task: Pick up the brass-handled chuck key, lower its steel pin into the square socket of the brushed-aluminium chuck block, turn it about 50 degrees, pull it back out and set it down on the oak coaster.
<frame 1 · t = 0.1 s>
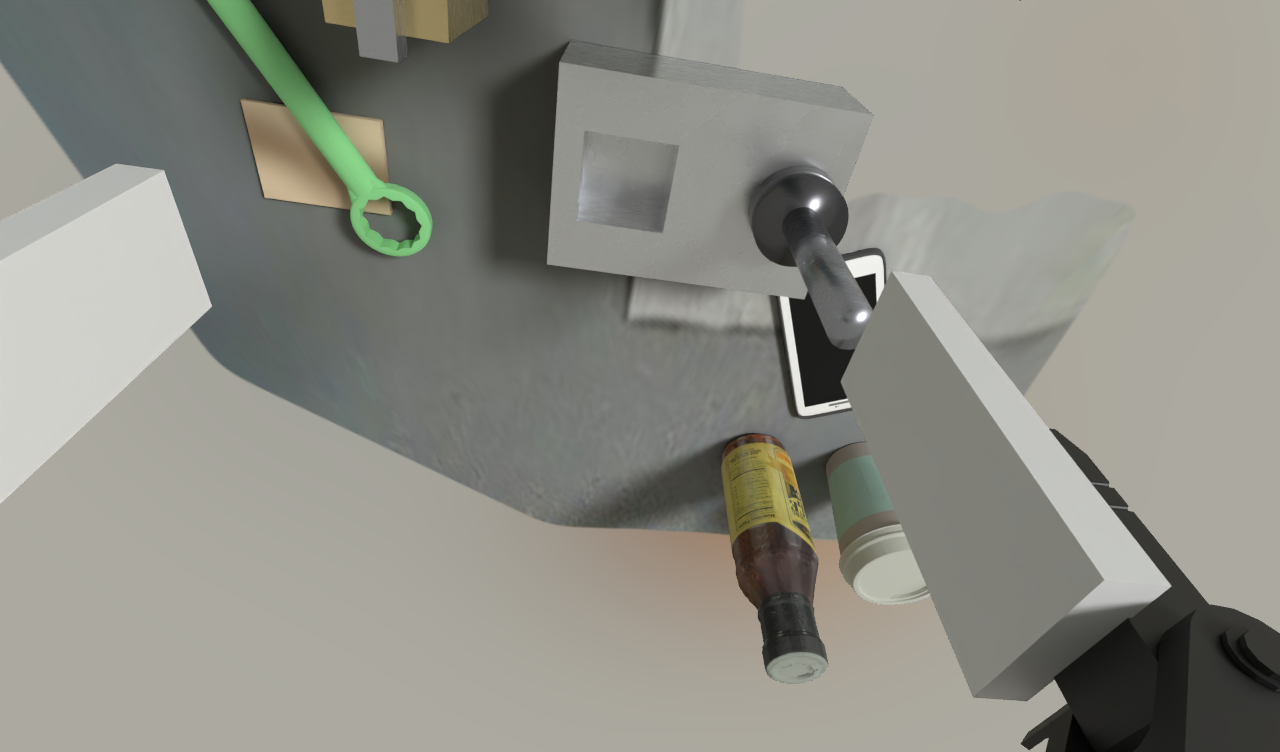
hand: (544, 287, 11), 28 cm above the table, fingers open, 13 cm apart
coffee cup: (856, 462, 55), on the table
cell phone: (832, 336, 47), on the table
wrench: (284, 62, 34), on the table, touching key mat
key mat: (322, 158, 37), on the table
chuck block: (690, 159, 37), on the table
sauce bottle: (752, 450, 54), on the table
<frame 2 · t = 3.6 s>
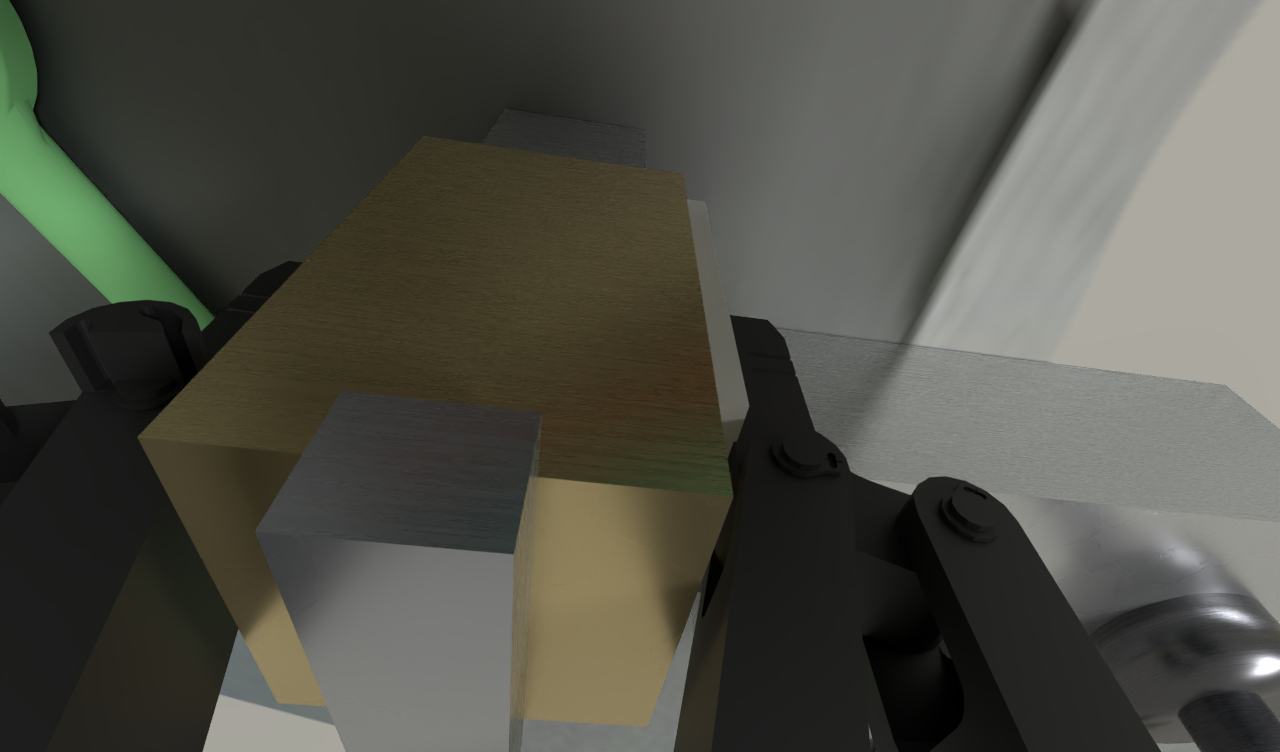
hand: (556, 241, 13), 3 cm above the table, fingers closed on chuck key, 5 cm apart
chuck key: (570, 187, 15), on the table, touching gripper
wrench: (242, 353, 19), on the table, touching key mat
chuck block: (924, 472, 22), on the table
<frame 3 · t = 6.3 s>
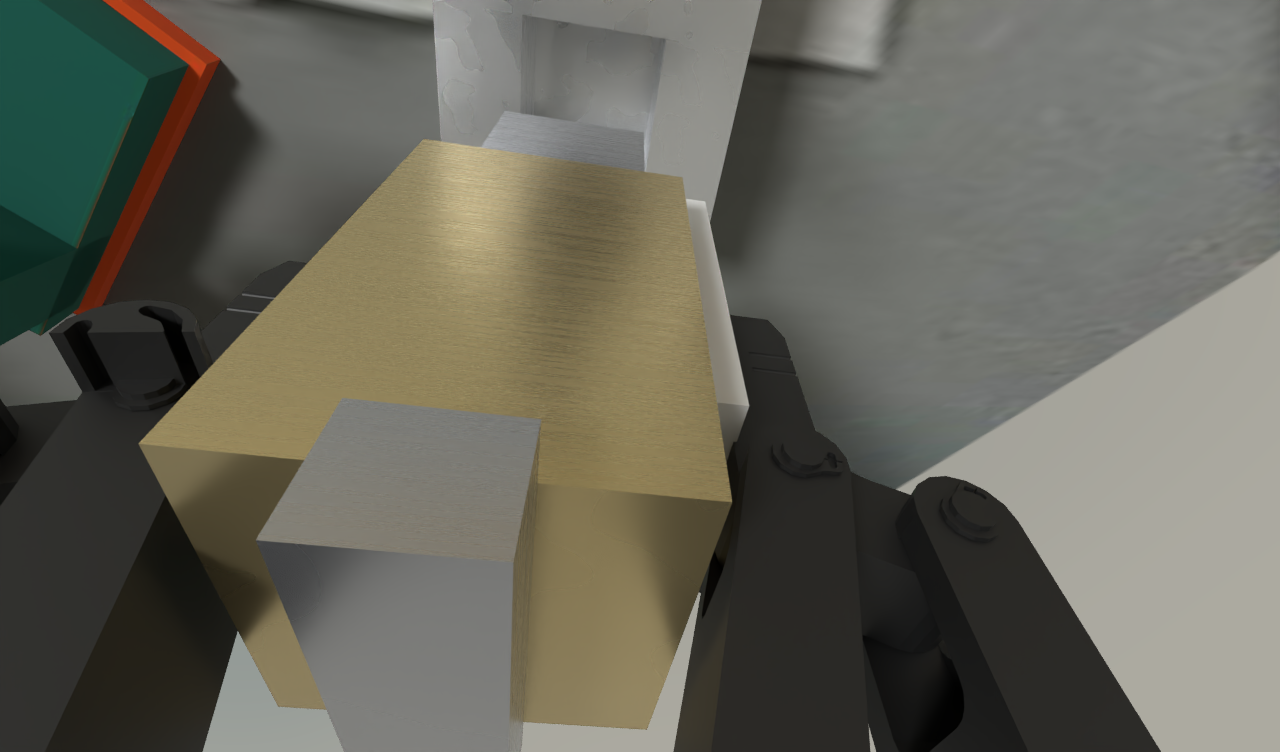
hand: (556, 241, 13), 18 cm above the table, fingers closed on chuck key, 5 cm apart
power tool: (120, 40, 26), on the table
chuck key: (570, 189, 15), point 14 cm above the table, touching gripper
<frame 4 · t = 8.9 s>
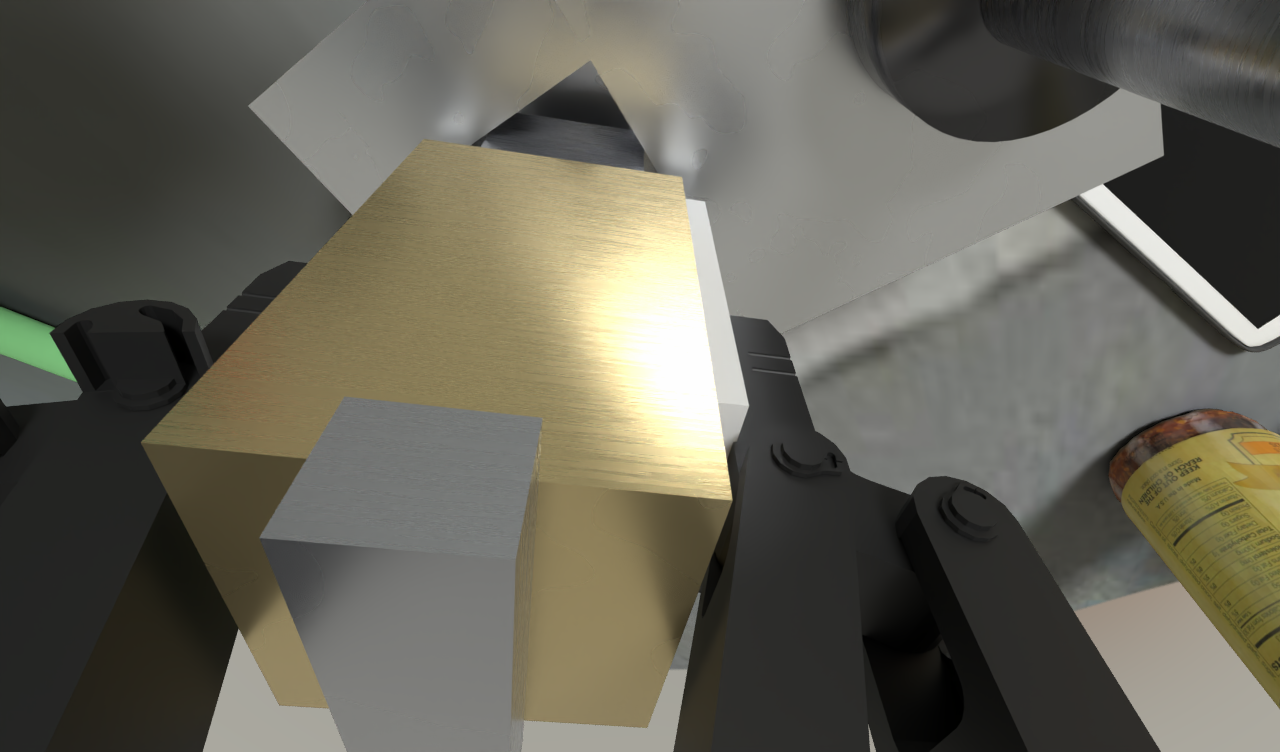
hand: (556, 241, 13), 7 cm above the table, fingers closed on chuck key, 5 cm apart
cell phone: (1244, 163, 19), on the table
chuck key: (569, 188, 16), point 4 cm above the table, touching gripper
wrench: (146, 363, 24), on the table, touching key mat
chuck block: (696, 70, 17), on the table
sauce bottle: (1168, 446, 27), on the table
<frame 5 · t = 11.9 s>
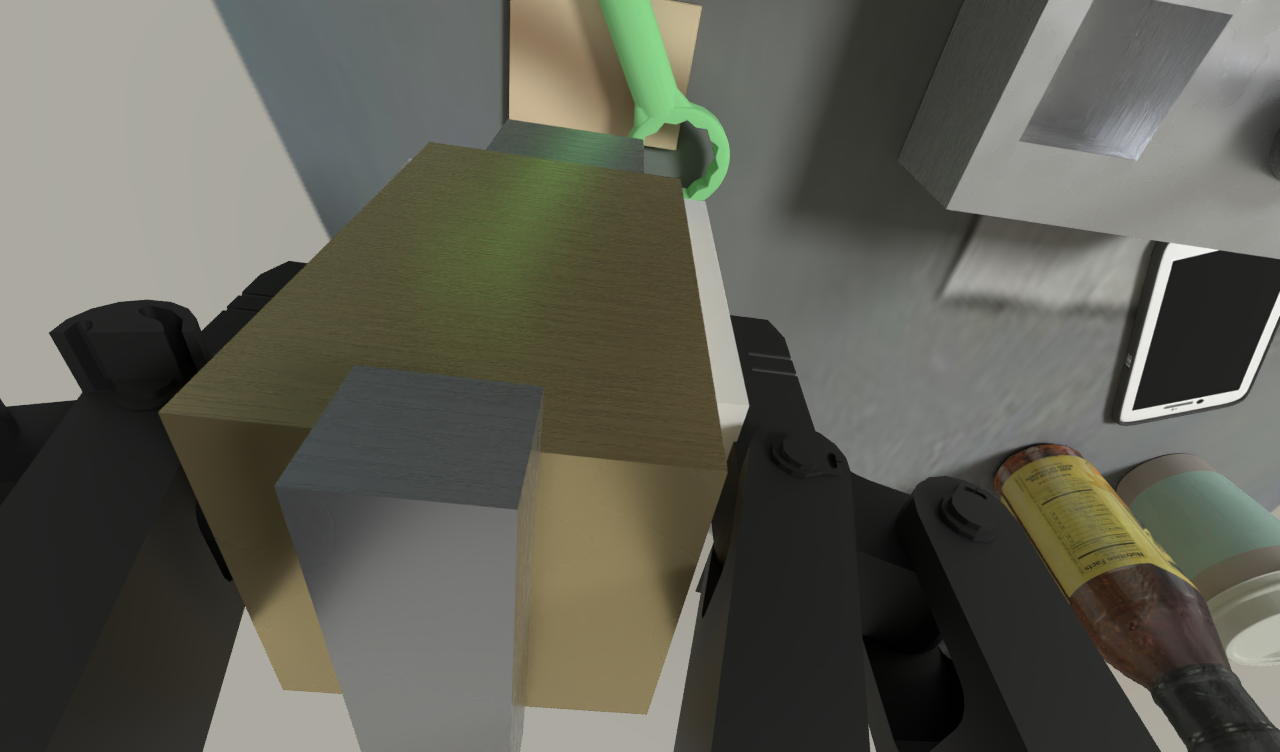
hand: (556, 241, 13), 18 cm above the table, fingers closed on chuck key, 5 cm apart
coffee cup: (1157, 478, 44), on the table
cell phone: (1195, 318, 36), on the table
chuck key: (571, 195, 16), point 14 cm above the table, touching gripper
key mat: (600, 67, 27), on the table
chuck block: (1116, 65, 27), on the table
sauce bottle: (1032, 464, 43), on the table
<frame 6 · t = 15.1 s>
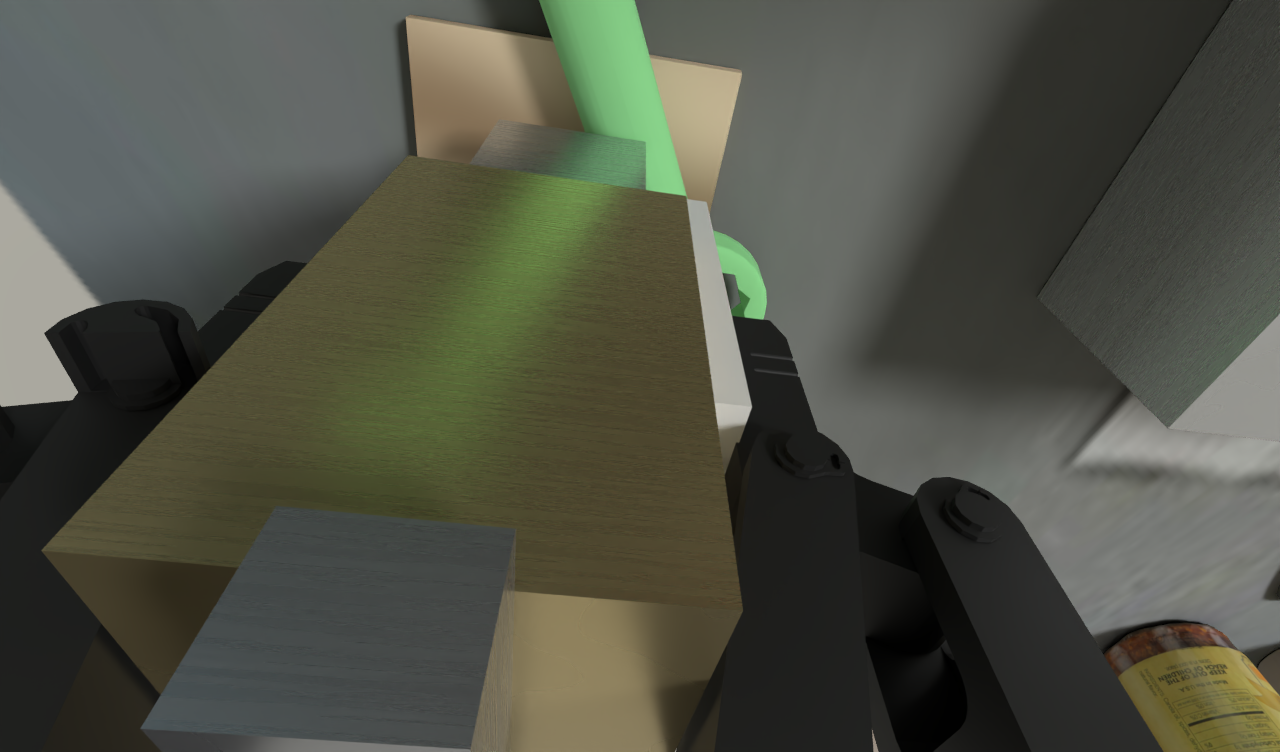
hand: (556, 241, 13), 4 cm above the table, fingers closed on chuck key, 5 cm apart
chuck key: (568, 200, 15), point 2 cm above the table, touching gripper, wrench
key mat: (570, 165, 16), on the table
sauce bottle: (1154, 639, 33), on the table
when the fingers open (4 cm above the table, at t = 15.1 s): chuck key stays where it is, resting on wrench.
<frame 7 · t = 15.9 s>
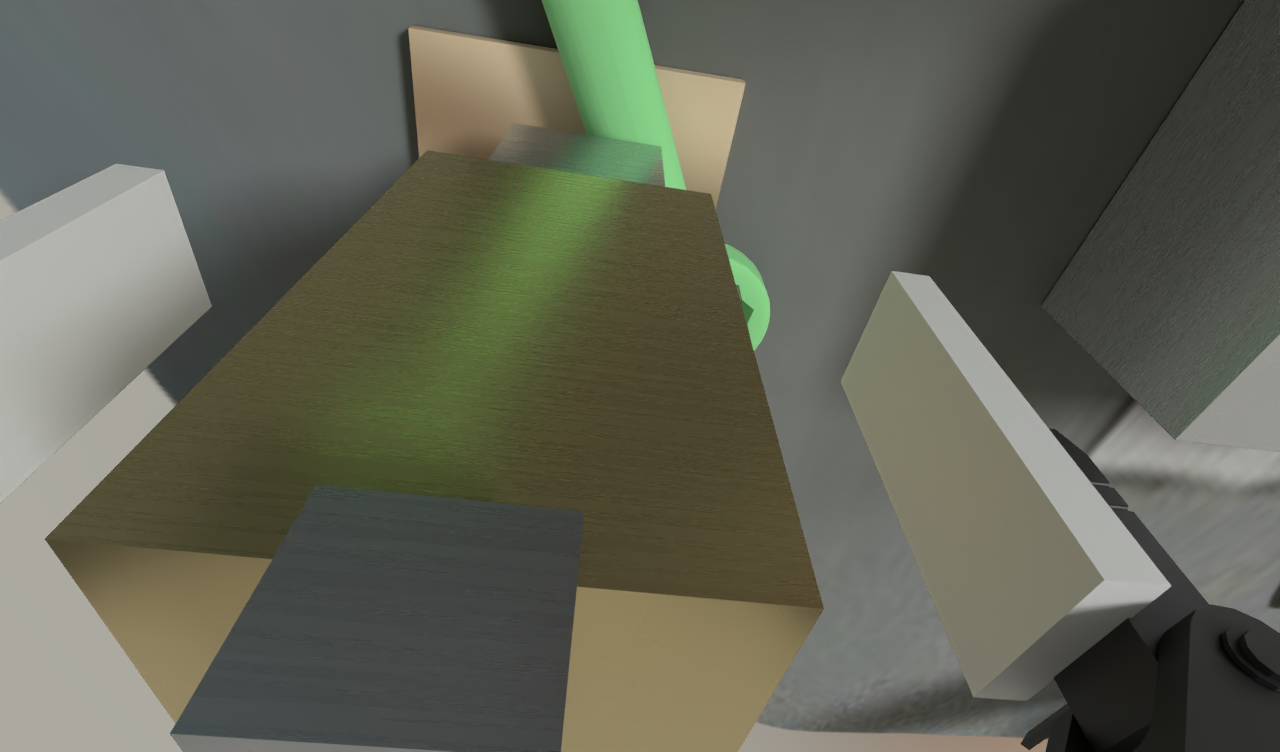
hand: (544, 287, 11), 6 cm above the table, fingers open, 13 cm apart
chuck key: (581, 206, 15), point 2 cm above the table, touching wrench
key mat: (573, 175, 16), on the table
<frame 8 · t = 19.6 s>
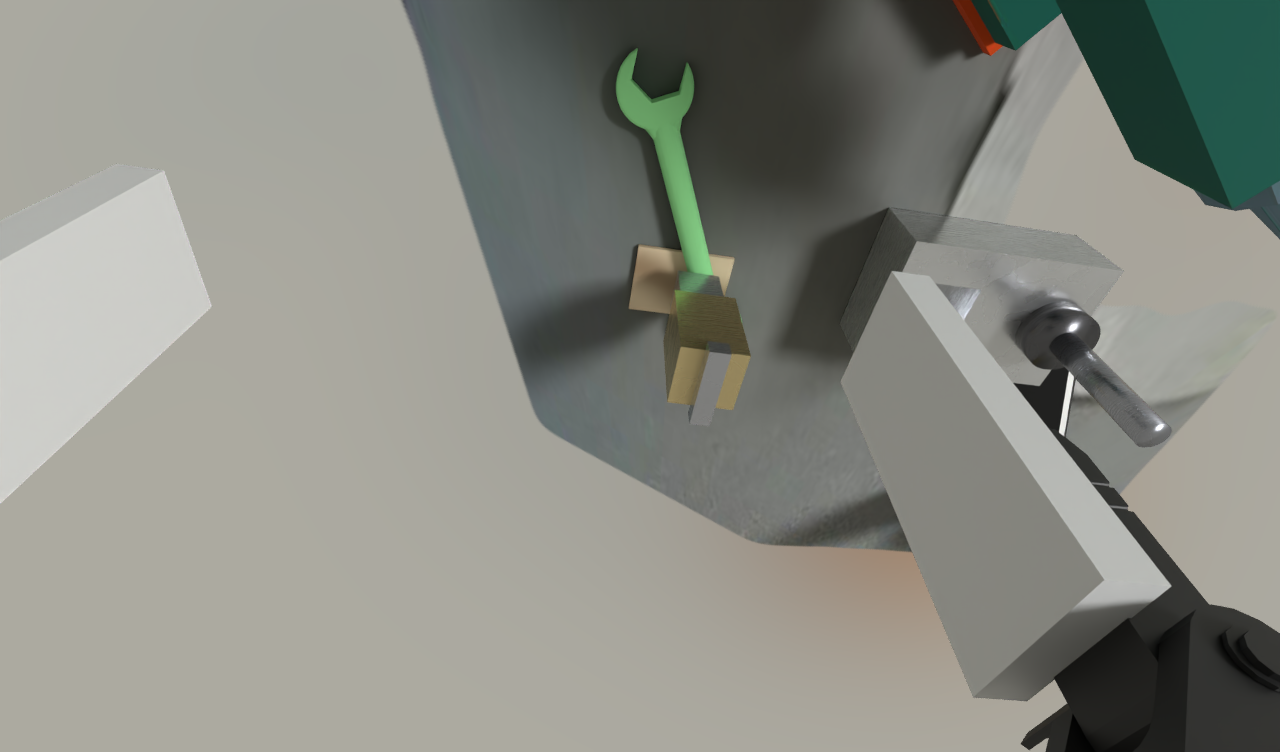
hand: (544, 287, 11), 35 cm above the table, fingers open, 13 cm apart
cell phone: (1024, 400, 60), on the table
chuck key: (694, 291, 49), point 2 cm above the table, touching wrench
wrench: (686, 216, 47), on the table, touching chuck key, key mat
key mat: (679, 282, 51), on the table
chuck block: (951, 281, 51), on the table
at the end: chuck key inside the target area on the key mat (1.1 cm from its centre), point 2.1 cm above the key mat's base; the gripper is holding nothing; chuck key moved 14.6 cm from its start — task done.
